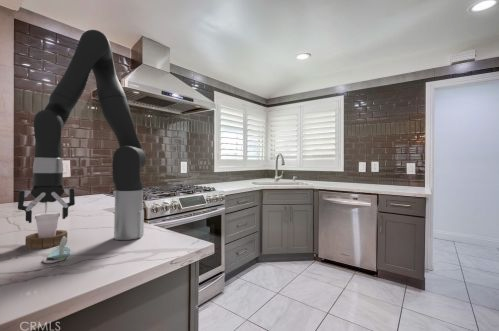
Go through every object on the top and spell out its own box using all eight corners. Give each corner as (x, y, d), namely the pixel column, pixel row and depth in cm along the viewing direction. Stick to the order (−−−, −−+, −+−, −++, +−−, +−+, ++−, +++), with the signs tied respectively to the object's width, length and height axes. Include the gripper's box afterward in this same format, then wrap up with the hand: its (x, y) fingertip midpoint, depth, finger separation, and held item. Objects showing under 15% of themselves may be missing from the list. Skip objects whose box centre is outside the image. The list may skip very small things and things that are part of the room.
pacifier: (41, 267, 61) (70, 261, 64) (40, 243, 61) (69, 238, 64) (44, 258, 67) (70, 253, 70) (43, 236, 67) (70, 232, 70)
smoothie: (44, 240, 81) (45, 199, 81) (64, 240, 82) (64, 199, 82) (28, 246, 75) (29, 202, 75) (50, 246, 75) (50, 202, 76)
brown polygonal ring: (72, 237, 85) (72, 229, 85) (56, 247, 74) (56, 238, 74) (38, 239, 82) (38, 231, 82) (16, 250, 72) (17, 240, 72)
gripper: (73, 171, 86) (72, 215, 86) (18, 171, 76) (17, 221, 76) (76, 171, 81) (75, 219, 81) (18, 172, 71) (17, 226, 71)
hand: (47, 220), depth 78 cm, fingers open, 8 cm apart
